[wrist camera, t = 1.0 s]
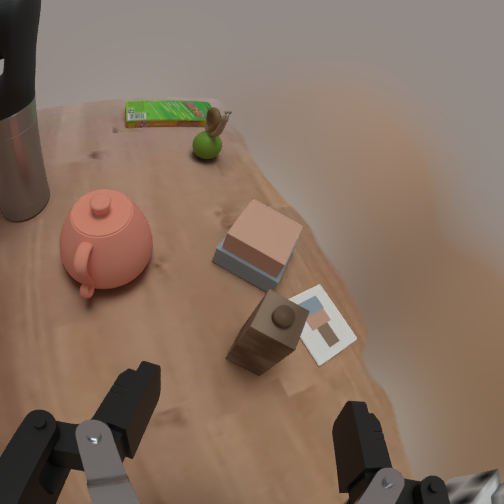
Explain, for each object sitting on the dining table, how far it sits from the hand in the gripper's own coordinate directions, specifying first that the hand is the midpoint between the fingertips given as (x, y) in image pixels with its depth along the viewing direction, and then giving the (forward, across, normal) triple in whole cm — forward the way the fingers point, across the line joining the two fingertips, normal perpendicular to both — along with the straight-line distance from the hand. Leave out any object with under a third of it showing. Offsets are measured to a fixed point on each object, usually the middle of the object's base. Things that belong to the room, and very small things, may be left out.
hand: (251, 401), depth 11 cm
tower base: (+32, +1, +5) cm, 32 cm away
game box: (+57, +26, -14) cm, 64 cm away
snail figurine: (+47, +14, -6) cm, 50 cm away
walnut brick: (+20, -1, +13) cm, 24 cm away
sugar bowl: (+23, +20, +7) cm, 31 cm away
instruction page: (+26, -10, +11) cm, 30 cm away
